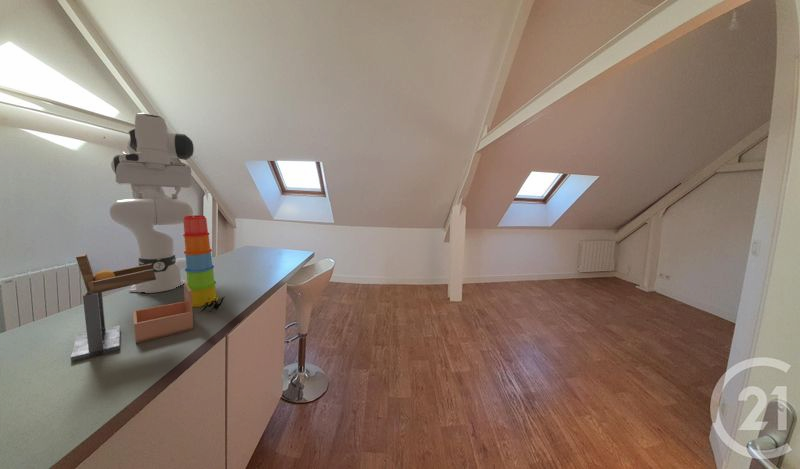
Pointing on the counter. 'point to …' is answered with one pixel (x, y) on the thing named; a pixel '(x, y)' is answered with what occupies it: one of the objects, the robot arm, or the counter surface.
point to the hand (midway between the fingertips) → (157, 198)
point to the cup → (164, 319)
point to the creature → (212, 304)
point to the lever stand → (95, 331)
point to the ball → (103, 275)
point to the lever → (120, 280)
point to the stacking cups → (199, 261)
